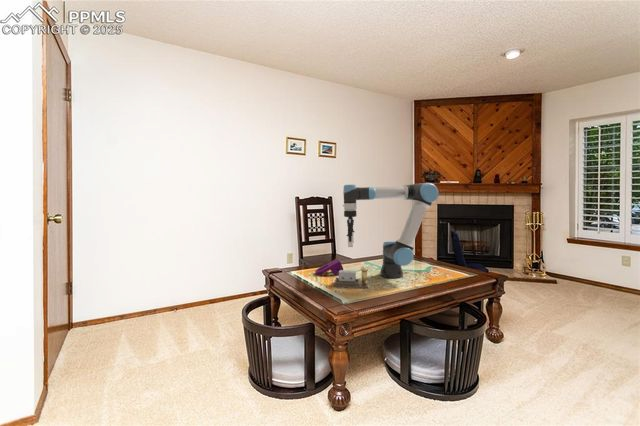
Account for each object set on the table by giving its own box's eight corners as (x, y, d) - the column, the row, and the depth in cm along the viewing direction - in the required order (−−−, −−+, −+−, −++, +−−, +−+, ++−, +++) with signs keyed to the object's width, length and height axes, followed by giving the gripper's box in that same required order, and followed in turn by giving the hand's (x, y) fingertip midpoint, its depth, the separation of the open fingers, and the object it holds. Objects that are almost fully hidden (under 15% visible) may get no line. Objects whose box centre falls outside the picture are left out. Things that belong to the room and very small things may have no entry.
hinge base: (368, 282, 203) (368, 266, 203) (368, 288, 192) (368, 271, 191) (336, 281, 207) (336, 265, 206) (334, 286, 195) (334, 270, 194)
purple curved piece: (321, 284, 220) (345, 272, 222) (316, 273, 219) (339, 261, 221) (319, 280, 230) (342, 268, 231) (314, 270, 229) (337, 258, 230)
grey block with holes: (355, 281, 201) (355, 270, 201) (355, 284, 196) (355, 272, 196) (339, 281, 203) (339, 270, 202) (338, 283, 198) (338, 272, 197)
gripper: (345, 208, 211) (345, 241, 213) (342, 211, 187) (343, 248, 188) (356, 208, 210) (357, 241, 212) (355, 211, 185) (356, 248, 187)
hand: (350, 245), depth 200 cm, fingers open, 13 cm apart
